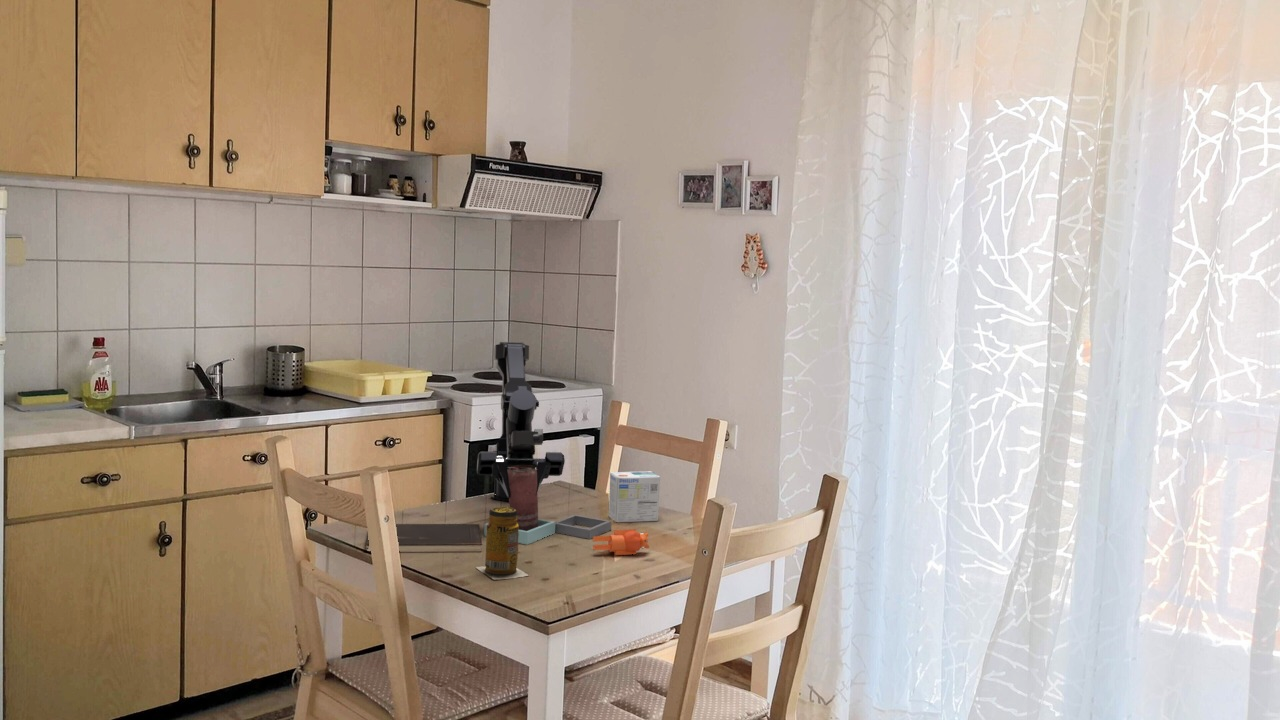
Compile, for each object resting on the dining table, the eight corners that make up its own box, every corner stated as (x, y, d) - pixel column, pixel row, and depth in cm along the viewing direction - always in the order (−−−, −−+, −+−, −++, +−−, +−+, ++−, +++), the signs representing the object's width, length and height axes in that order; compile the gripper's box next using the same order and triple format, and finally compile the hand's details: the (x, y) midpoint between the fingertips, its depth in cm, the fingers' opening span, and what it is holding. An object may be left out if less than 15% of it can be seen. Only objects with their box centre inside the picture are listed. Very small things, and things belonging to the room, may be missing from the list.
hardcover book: (481, 554, 207) (482, 543, 207) (364, 555, 203) (364, 544, 203) (478, 533, 223) (479, 523, 223) (369, 533, 218) (370, 523, 218)
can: (511, 525, 225) (509, 463, 223) (540, 525, 225) (538, 463, 223) (506, 534, 219) (504, 471, 217) (536, 534, 219) (534, 471, 217)
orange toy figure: (596, 529, 207) (652, 528, 210) (587, 532, 214) (642, 530, 217) (597, 555, 206) (654, 553, 209) (588, 556, 213) (643, 554, 216)
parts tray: (484, 536, 219) (484, 524, 219) (513, 525, 229) (513, 514, 228) (527, 544, 214) (527, 532, 214) (555, 533, 224) (555, 521, 224)
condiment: (510, 564, 200) (512, 504, 199) (529, 576, 193) (531, 514, 192) (475, 568, 196) (477, 507, 195) (493, 581, 189) (495, 517, 188)
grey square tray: (551, 531, 225) (552, 523, 225) (574, 523, 234) (574, 514, 233) (589, 539, 221) (589, 530, 221) (610, 529, 229) (611, 521, 229)
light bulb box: (649, 514, 245) (652, 470, 244) (659, 521, 239) (661, 476, 238) (607, 515, 242) (609, 471, 241) (615, 523, 236) (617, 477, 235)
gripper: (479, 414, 221) (480, 475, 211) (565, 416, 225) (570, 476, 215) (476, 444, 229) (477, 504, 220) (559, 445, 233) (563, 504, 223)
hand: (522, 496), depth 219 cm, fingers closed on can, 5 cm apart
